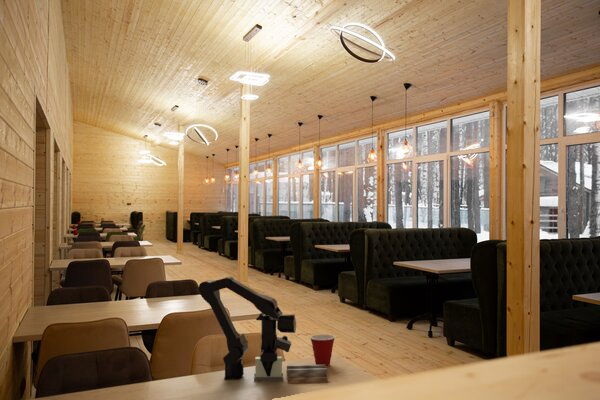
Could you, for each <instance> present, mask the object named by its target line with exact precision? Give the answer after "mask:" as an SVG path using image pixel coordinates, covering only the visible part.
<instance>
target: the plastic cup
mask: <svg viewBox="0 0 600 400" xmlns="http://www.w3.org/2000/svg"><path fill="white" fill-rule="evenodd" d="M309 339H310V341H311V345H312V352H313V357H314V362H315V365H325V366H328V365H329V366H330V364H331V359H332V354H333V347H334V342H335V339H336V335H333V334H314V335H311V336H309ZM329 366H328V367H329Z"/></svg>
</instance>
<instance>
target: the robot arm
mask: <svg viewBox="0 0 600 400" xmlns="http://www.w3.org/2000/svg"><path fill="white" fill-rule="evenodd" d="M223 289H228V290H229V291H232V292H233V293H235V294H237V295H238V296H240V297H242V298H243V299H245V300H247V301H248V302H250V303H251V304H252V305H253V306H254V307H255V308H256V309H257V310H258V311H259V312H260V314H259V316H257V317H256V318H255V320H256V321H261V324H260V326H261V332H260V333H261V335H260V339H261V342H260V354H259V355H260V356H259V357H260V361H261V362H262V365H263V367H264V369H265V372H266V374H267V376H270V375H271V370H272V365H273V363H274V362H275V361H277V357H278V352H277V351H278V349H279V350H282V351H284V352H286V353H289V351H290V350H291V346H292V342H291V341H290V340H288V336H287V335H283V336H282V337H278V334H277V331H278V332H279V333H283V334H284V333H286V334H287V333H288V334H295V333H296V331H297V321H296V314H294V313H291V314H286V313H285V314H284V313H283V311H282V310H281V309H280V307H279V306H278V301H277V299H275V298H274V297H271V296H268V295H266V294H262V293H258V292H257V291H255V290H254V289H252V288H250V287H248V286H247V285H245V284H243V283H241V281H239V280H236V279H235V278H234V277H232V276H226V277H224V278H221V279H220V278H219V279H217V280H214V279H207V280H205V281H202V282H201V283H200V284H199V285H198V288H197V291H198V293H199V295H200V296H201V297H202V299H203V300H204V301H205V302H206V303H207V304H208V305H209V306H210V309H211V310H212V312H213V314H214V315H215V318H216V320H217V322H218V324H219V327H220V328H221V330H222V332H223V334H224V336H225V339H226V340H225V341H226V347H227V351H228V353H227V354H226V355H224V356H223V358H222V359H223V362H224V377H223V379H224V380H241V379H242V377H243V376H244V363H243V359H242V358H243V356H244V355H245V354H246V353H247V352H248V349H249V345H248V343H249V341H248V340H247V338H246V336H245V334H244V333H241V334H240V333H239V332H238V331H237V330H236V328H235V326H234V324H233V321H232V320H231V318H230V315H229V313H228V311H227V309H226V307H225V305H224V304H223V302H222V300H221V293H220V290H223Z"/></svg>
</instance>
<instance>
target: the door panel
mask: <svg viewBox="0 0 600 400" xmlns="http://www.w3.org/2000/svg"><path fill="white" fill-rule="evenodd" d="M254 365H255V369H254V370H255V372H254V373H255V377H282V373H283V356H277V361H275V362H274V363H273V365H272V370H271V375H270V376H267V374H266V372H265V369H264V367H263V365H262V362H261V361H260V356H255V364H254Z"/></svg>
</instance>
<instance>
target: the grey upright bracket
mask: <svg viewBox="0 0 600 400" xmlns="http://www.w3.org/2000/svg"><path fill="white" fill-rule="evenodd" d="M283 381H284V373H283V372H282V377H255V372H254V376H253V382H255V383H256V382H283Z"/></svg>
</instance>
